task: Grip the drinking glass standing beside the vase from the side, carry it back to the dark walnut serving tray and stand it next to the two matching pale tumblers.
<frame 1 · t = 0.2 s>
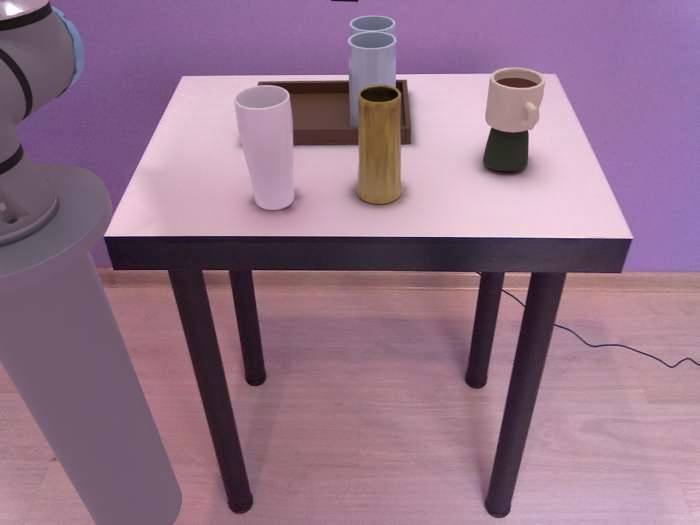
tumbler b: (372, 107, 104), resting on tray
drinking glass: (275, 202, 84), on the table
character mug: (504, 165, 89), on the table
tray: (330, 117, 102), on the table
tumbler a: (372, 127, 99), resting on tray
vase: (379, 193, 85), on the table
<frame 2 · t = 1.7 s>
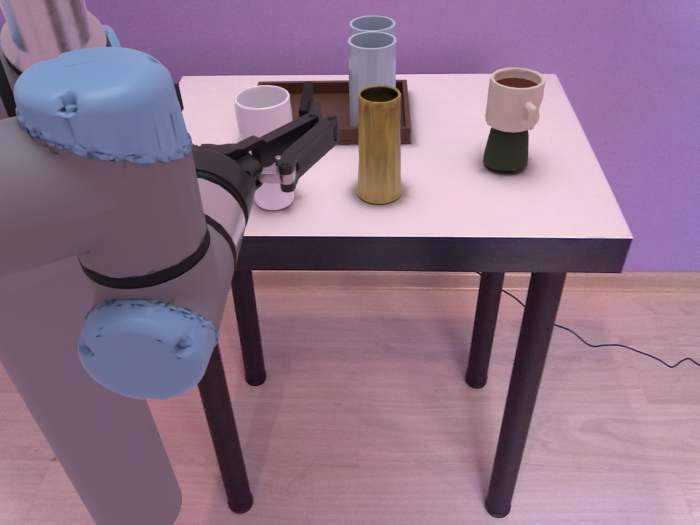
hand: (243, 94, 64), 20 cm above the table, tool horizontal, fingers open, 13 cm apart
nothing on the table moved.
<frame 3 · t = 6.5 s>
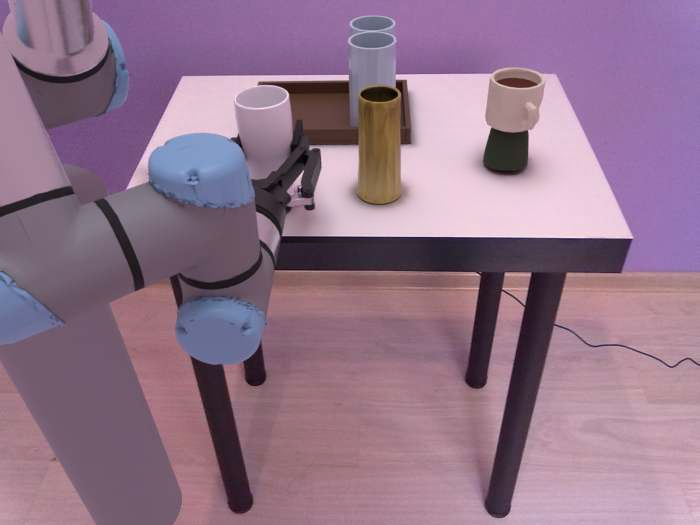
hand: (273, 129, 82), 8 cm above the table, tool horizontal, fingers closed on drinking glass, 6 cm apart
drinking glass: (275, 202, 84), on the table, touching gripper
everything else where it was.
when the fingers open (9 cm above the table, at t = 15.4 s): drinking glass stays where it is, resting on tray.
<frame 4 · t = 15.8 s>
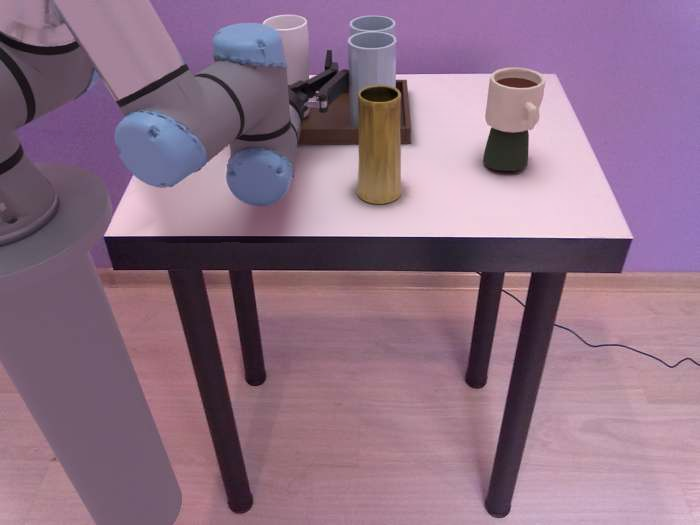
hand: (290, 58, 99), 9 cm above the table, tool horizontal, fingers open, 12 cm apart
drinking glass: (293, 116, 102), resting on tray
everything else where it was.
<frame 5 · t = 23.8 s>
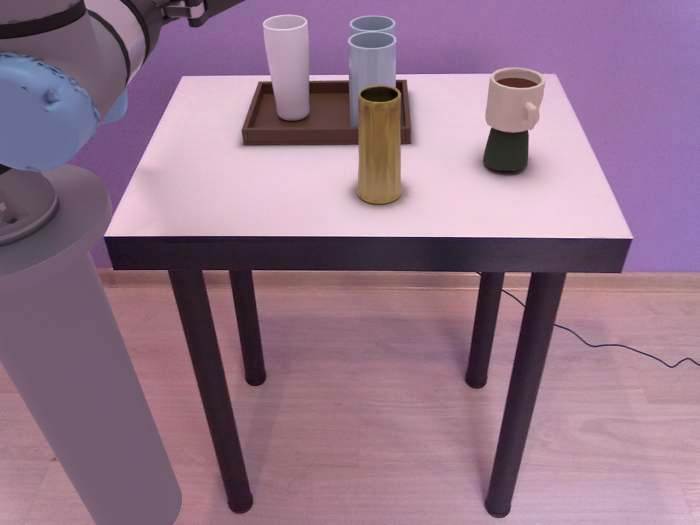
nothing on the table moved.
at the end: drinking glass inside the target area in the tray (0.1 cm from its centre), point 0.4 cm above the tray's base; drinking glass tilted 0°; the gripper is holding nothing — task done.
